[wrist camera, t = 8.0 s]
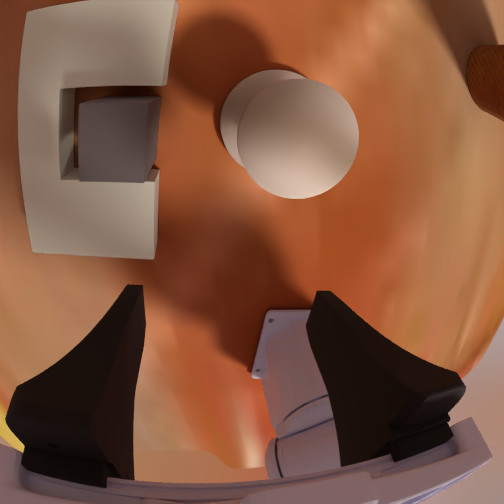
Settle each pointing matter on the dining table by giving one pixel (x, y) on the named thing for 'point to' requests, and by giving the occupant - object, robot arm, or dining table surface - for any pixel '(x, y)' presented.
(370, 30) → the dining table surface
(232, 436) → the dining table surface
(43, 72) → the notch board
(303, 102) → the bobbin post
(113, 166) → the block
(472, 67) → the disposable coffee cup
